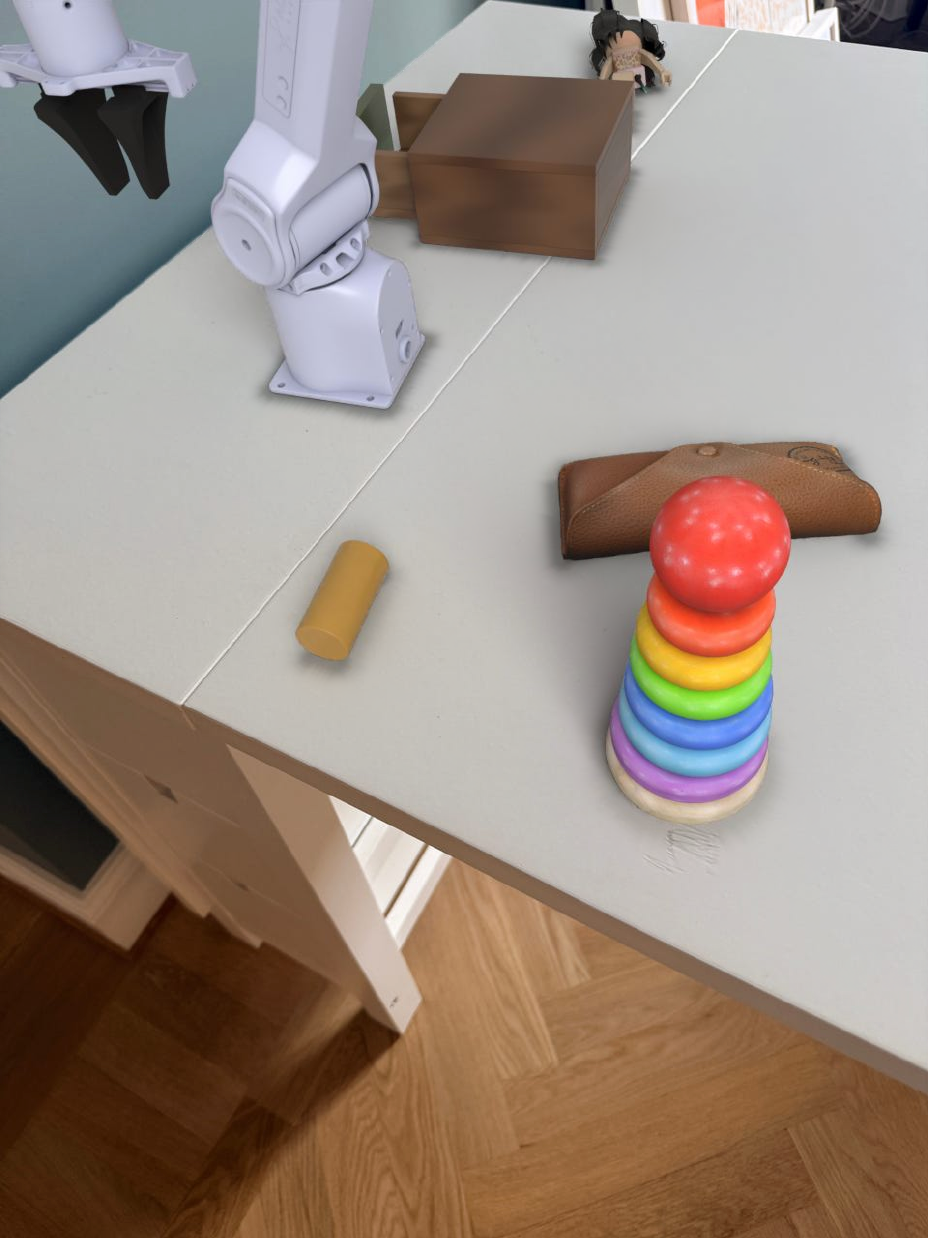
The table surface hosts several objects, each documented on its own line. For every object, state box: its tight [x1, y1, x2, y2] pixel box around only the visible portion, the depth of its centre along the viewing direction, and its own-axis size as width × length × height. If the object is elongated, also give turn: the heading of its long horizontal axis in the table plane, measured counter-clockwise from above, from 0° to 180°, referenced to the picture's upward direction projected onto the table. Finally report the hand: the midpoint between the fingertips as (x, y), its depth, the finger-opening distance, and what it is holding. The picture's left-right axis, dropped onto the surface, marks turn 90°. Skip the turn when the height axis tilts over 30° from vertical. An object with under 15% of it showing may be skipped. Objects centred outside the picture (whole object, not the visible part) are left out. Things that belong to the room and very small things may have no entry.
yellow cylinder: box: [295, 539, 390, 661], centre depth 54 cm, size 3×6×3 cm, turn 162°
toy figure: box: [588, 7, 673, 130], centre depth 85 cm, size 7×6×15 cm
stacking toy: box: [605, 476, 792, 825], centre depth 40 cm, size 8×8×19 cm
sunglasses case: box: [557, 441, 883, 562], centre depth 55 cm, size 18×7×7 cm
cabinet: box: [407, 72, 635, 261], centre depth 75 cm, size 15×13×8 cm
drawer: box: [355, 82, 446, 221], centre depth 78 cm, size 18×11×6 cm, turn 71°
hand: (139, 189), depth 68 cm, fingers open, 3 cm apart
